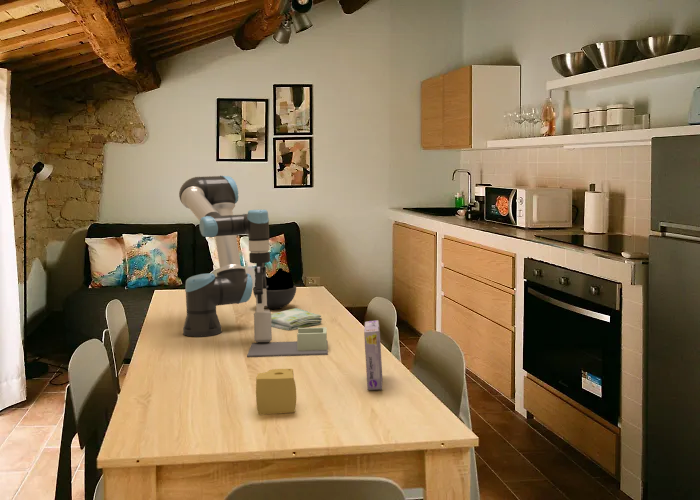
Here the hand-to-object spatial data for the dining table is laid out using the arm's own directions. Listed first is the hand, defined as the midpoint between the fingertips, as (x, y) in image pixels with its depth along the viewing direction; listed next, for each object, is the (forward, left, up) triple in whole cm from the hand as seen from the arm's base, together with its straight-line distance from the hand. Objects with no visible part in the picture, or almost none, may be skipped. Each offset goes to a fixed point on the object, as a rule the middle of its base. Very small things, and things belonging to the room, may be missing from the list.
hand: (261, 309), depth 295 cm
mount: (+9, +10, -13) cm, 19 cm away
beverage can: (0, 0, -13) cm, 13 cm away
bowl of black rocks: (-74, 0, -14) cm, 75 cm away
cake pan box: (+56, +38, -14) cm, 69 cm away
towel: (-37, +9, -14) cm, 41 cm away
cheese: (+79, +10, -14) cm, 81 cm away
